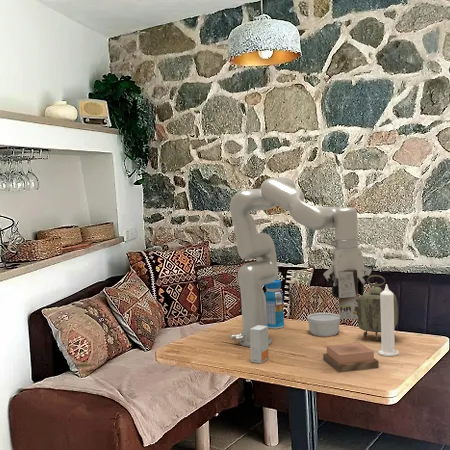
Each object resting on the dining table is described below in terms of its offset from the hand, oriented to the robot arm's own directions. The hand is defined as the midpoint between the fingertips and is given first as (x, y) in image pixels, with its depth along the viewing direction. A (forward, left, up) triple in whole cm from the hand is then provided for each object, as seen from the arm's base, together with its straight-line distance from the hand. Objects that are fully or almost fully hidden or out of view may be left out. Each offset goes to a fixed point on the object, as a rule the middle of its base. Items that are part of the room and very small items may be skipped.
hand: (348, 295), depth 201 cm
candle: (+17, +6, -24) cm, 30 cm away
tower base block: (0, 0, -24) cm, 24 cm away
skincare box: (-28, +14, -24) cm, 39 cm away
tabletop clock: (+21, +24, -24) cm, 40 cm away
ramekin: (+6, +40, -24) cm, 47 cm away
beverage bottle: (-10, +57, -24) cm, 63 cm away
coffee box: (0, 0, -7) cm, 7 cm away
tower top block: (0, 0, -21) cm, 21 cm away
